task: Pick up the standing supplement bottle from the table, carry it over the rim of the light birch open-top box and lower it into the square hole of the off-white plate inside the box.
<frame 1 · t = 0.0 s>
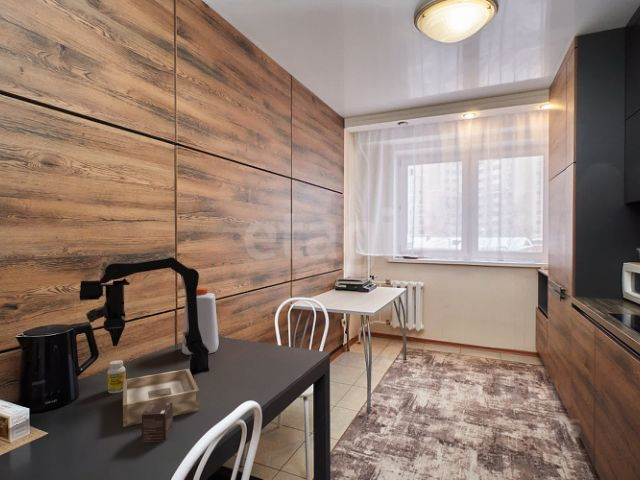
hand: (115, 342, 128), 15 cm above the table, tool pointing down, fingers open, 9 cm apart
supplement bottle: (116, 390, 123), on the table
plastic bottle: (200, 350, 166), on the table
box: (157, 436, 95), on the table
open box: (160, 404, 113), on the table
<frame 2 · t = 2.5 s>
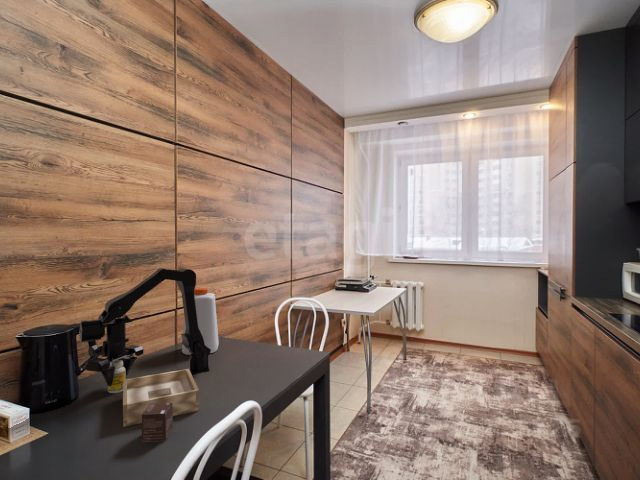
hand: (116, 382, 123), 3 cm above the table, tool pointing down, fingers closed on supplement bottle, 5 cm apart
supplement bottle: (116, 390, 123), on the table, touching gripper
everything else where it was.
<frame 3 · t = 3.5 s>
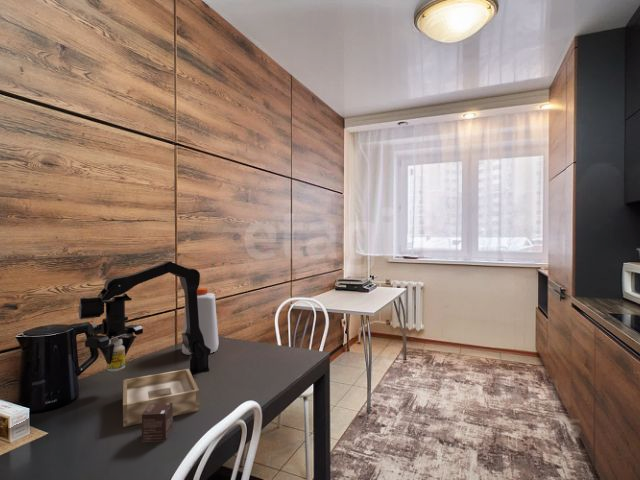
hand: (116, 361, 123), 10 cm above the table, tool pointing down, fingers closed on supplement bottle, 5 cm apart
supplement bottle: (116, 369, 123), point 7 cm above the table, touching gripper
everything else where it was.
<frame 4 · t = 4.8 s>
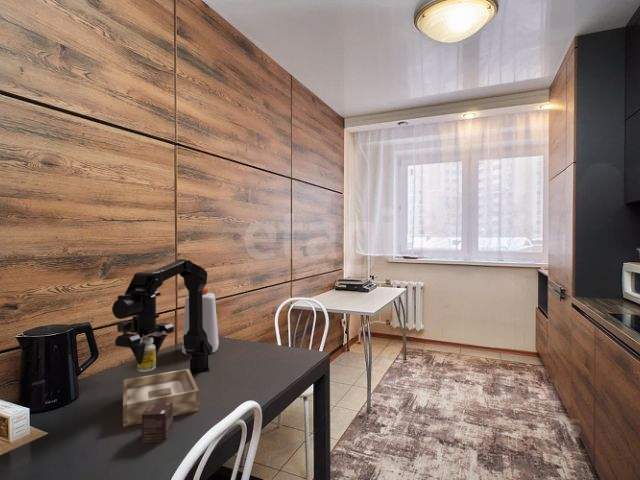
hand: (146, 361, 116), 12 cm above the table, tool pointing down, fingers closed on supplement bottle, 5 cm apart
supplement bottle: (146, 369, 116), point 10 cm above the table, touching gripper
everything else where it was.
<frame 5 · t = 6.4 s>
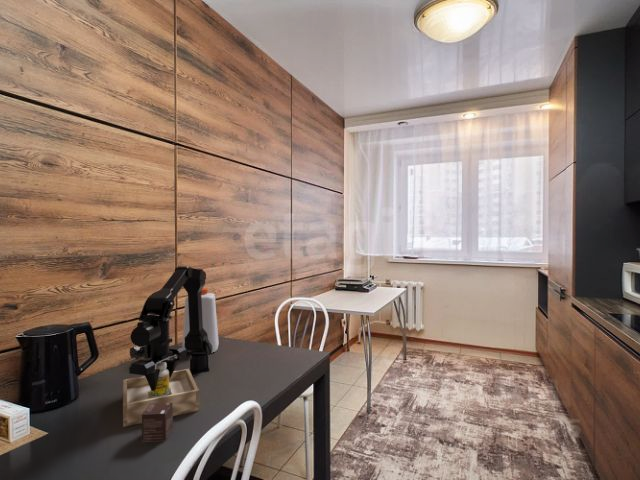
hand: (160, 386, 113), 5 cm above the table, tool pointing down, fingers closed on supplement bottle, 5 cm apart
supplement bottle: (160, 395, 113), point 3 cm above the table, touching gripper
everything else where it was.
when the fingers open (4 cm above the table, at t = 7.4 s): supplement bottle stays where it is, resting on open box.
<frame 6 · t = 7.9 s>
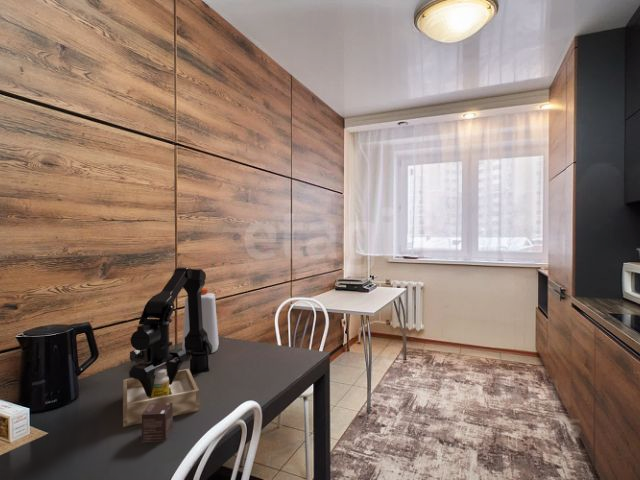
hand: (159, 390, 113), 4 cm above the table, tool pointing down, fingers open, 9 cm apart
supplement bottle: (159, 402, 113), point 1 cm above the table, touching open box
everything else where it was.
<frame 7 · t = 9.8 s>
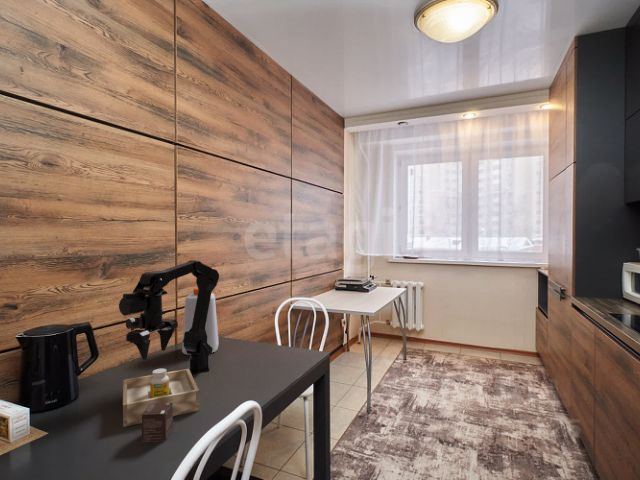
hand: (154, 354, 124), 12 cm above the table, tool pointing down, fingers open, 9 cm apart
nothing on the table moved.
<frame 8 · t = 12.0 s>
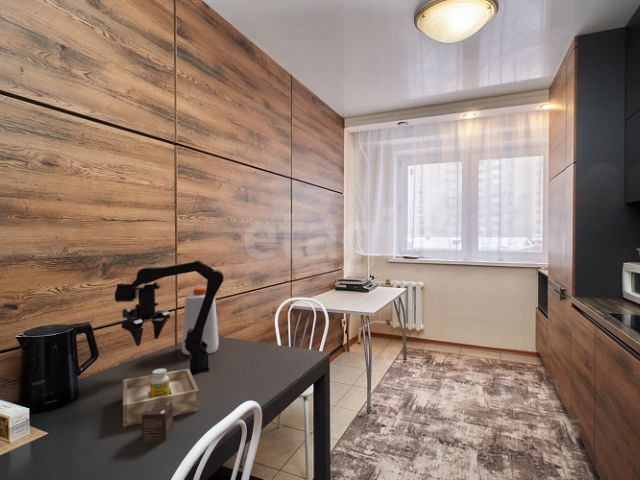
hand: (147, 342, 138), 12 cm above the table, tool pointing down, fingers open, 9 cm apart
nothing on the table moved.
at the end: supplement bottle 0.0 cm off-centre on the open box, point 0.6 cm above the open box's base; supplement bottle tilted 0°; the gripper is holding nothing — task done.
